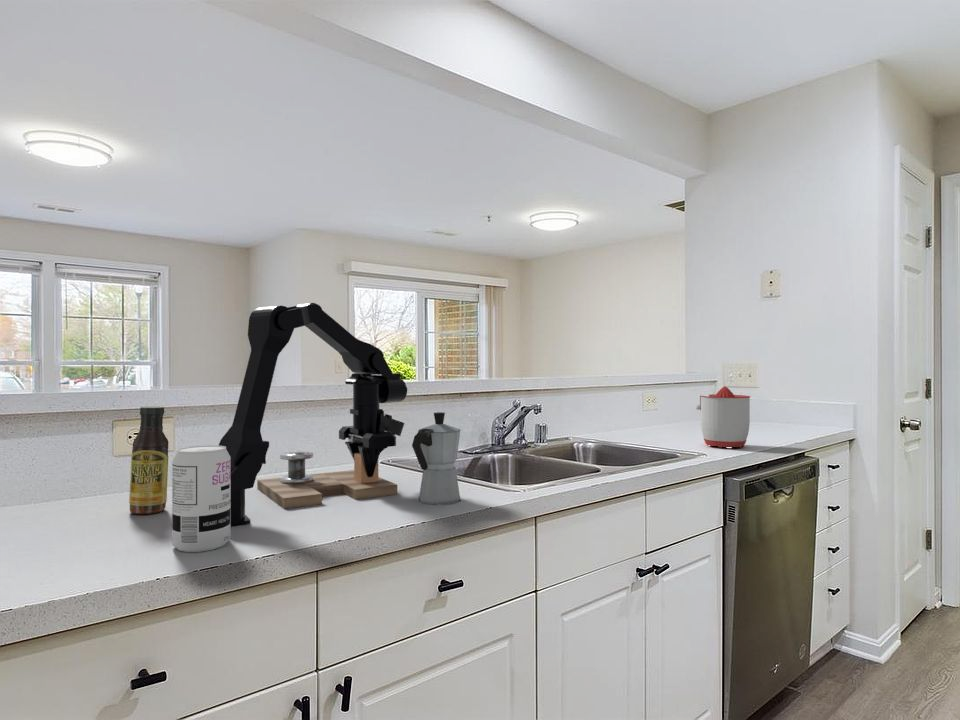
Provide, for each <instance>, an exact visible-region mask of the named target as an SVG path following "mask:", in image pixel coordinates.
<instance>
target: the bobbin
mask: <svg viewBox="0 0 960 720" xmlns="http://www.w3.org/2000/svg"><path fill="white" fill-rule="evenodd" d="M279 458H280V460H285V461H287V469H288V470H287V475H283V476H281V478H280V477H279V478H280V483H283V484H303V483H309V482H312V481H313V476H312V475H309V474H306V460H308V459H312V458H314V452H312V451H303V450H302V451H301V450H300V451H288V452H287V451H286V452H281V453H280V454H279Z"/></svg>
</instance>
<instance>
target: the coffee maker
mask: <svg viewBox="0 0 960 720" xmlns="http://www.w3.org/2000/svg"><path fill="white" fill-rule="evenodd" d="M445 414H446V412H439V411H437V412H433V419H434V424H431V425H428V426H425V427H423V428H420V429H418V430H417V432H416V434H415V435H414V437H413V440H412V444H411V447H412V449H413V452H414V454H415V456H416V459H417V462H418V465H419V466H420V469H421V470H422V475H421V476H422V477H421V483H420V490H419V495H418V500H419V502H420V503H421V504H425V503H426V505H432V504H433V505H434V506H438V505H437V504H442V505H450V504H449V503H453V504H455V503H457V501H458V502H460V501H459V500H461V495H460V487H459V481H458V475H457V469H456V466H455V462H456V461H457V460H458V459H457V458H458V452H459V445H460V443H459V442H460V437H461V435H460V434H461V428H458V427H455V426H451V425H449V424H445V423H444V420H445ZM454 502H455V503H454ZM433 505H432V506H433Z"/></svg>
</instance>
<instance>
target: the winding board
mask: <svg viewBox="0 0 960 720" xmlns="http://www.w3.org/2000/svg"><path fill="white" fill-rule="evenodd" d="M308 475H312V476H313V481H312V482H309V483H303V484H283V483H280V478H281V477H282V476H281V477H272V478H271V477H270V478H261V479H257V480H256V482H257V483H256V485H257V487H256V488H257V490H258V491H259V492H261V493H262V494H263V495H264V496H266V497H268V499H270V500H271V501H273V502H274V503H275V504H276V505H278V506H280V507H281V508H282V509H291V508H292V509H294V508H299V507H300V508H301V507H306V506H308V507H309V506H315V505H316V506H317V505H321V504H322V503H323V496H333V495H339V494H344V495H346V496H348V497H350V498H351V499H354V500H361V499H368V498H377V497H383V496H384V497H385V496H392V495H393V496H394V495H398V484H397V483H395V482H392V481H389V480H387V479H384V478H382V477H379V476H378V481H377V482H368V483H359V482H357V481H355V480H354V469H351V470H349V469H348V470H342V471H341V470H340V471H331V472H320V473H319V472H318V473H310V474H309V473H308Z"/></svg>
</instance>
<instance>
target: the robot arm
mask: <svg viewBox="0 0 960 720" xmlns="http://www.w3.org/2000/svg"><path fill="white" fill-rule="evenodd" d="M302 327H306V328H307V329H308V330H310V331H311V332H312V333H313V334H315V335H316V336H317V337H319V339H321V340H322V341H324V342H325V343H326V344H327V345H328V346H330V347H331V348H333V350H335V351H336V352H337V353H339V355H340V356H341V358H342V361H343V363H344V364H345V365H346V367H347V368H348V369H349V370H350V371H351V372H352V373H351V376H350V377H349V378H347V379H346V380H345V381H344V383H345V385H352V392H353V393H352V408H349V414H350V415H352V425H347V426H346V425H345V426H342V427H341V428H340V429H339V430H338V439H339V440H342V441H345V440H346V439H348V441H345V442H344V444H345V445H346V447H347V449H348V452H349V453H350V455H351V457H352V460H354V453H360V455H361V458H362V461H363V464H364V468H365V471H366V474H367V476H368V477H372V476H373V474H374V470H375V467H376V464H377V460H378V461H379V457H380V454H381V453H382V452H383V451H385V449H388V447H389V448H390V447H396V446H397V436H398V437H401V435H402V431H403V429H404V427H405V422H403V421H400V420H397V419H394V418H393V417H392V415H390V414H388V413H385V411H384V409H383V408H380V404H389V403H390V404H391V403H401V402H402V401H404V400H405V399H406V397H407V396H408V395H407V394H408V387H407V384H406V382H405V381H404V380H403V379H402V378H401V373H400V372H392V370H391V368H390V366H389V363H387V360H386V359H385V354H384V352H383V351H382V349H380V348H378V347H376V346H375V345H373V344H371V343H369V342H367V341H363V340H360V339H359V338H357V337H356V336H354V335H353V334H352V333H350V332H349V331H348V330H347V329H346V328H345V327H344V326H342V325H341V324H340V323H338V322H337V321H336V319H334V318H333V317H331V316H330V314H328V313H327V312H326V311H324V310H323V308H322V306H320V304H317V303H315V302H308V303H299V304H297V305H294V306H284V305H273V306H261V307H257V308H256V309H254V310H252V311H251V313H250V314H249V318H248V327H247V338H248V342H249V346H250V354H249V358H248V361H247V365H246V370H245V374H244V377H243V382H242V385H241V389H240V393H239V397H238V401H237V406H236V410H235V413H234V417H233V421H232V424H231V426H230V427H229V428H228V430H227V431H226V432H225V433H224V435H223V436H222V438H220V441H219V443H218V445H217V446H225V447H226V450H227V452H228V453H229V455H230V457H231V526H236V525H237V526H238V525H244V524H249V523H251V519H250V518H249V517H248V516H247V514H246V490H248V489H249V490H250V489H252V488H254V485H255V483H256V481H257V480H256V479H257V476H258V474H259V472H261V469H262V466H263V465H266V464H267V461H266V457H267V453H268V450H269V448H270V441H268V440H264V439H263V437H262V432H261V428H262V425H263V424H262V423H263V420H264V416H265V412H266V407H267V403H268V399H269V395H270V391H271V388H272V382H273V378H274V374H275V370H276V366H277V361H278V357H279V355H280V353H281V352H282V351H283V349H285V347H286V346H288V344H289V342H290V340H291V337H292V335H293V333H294V330H295V329H297V328H302Z"/></svg>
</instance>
